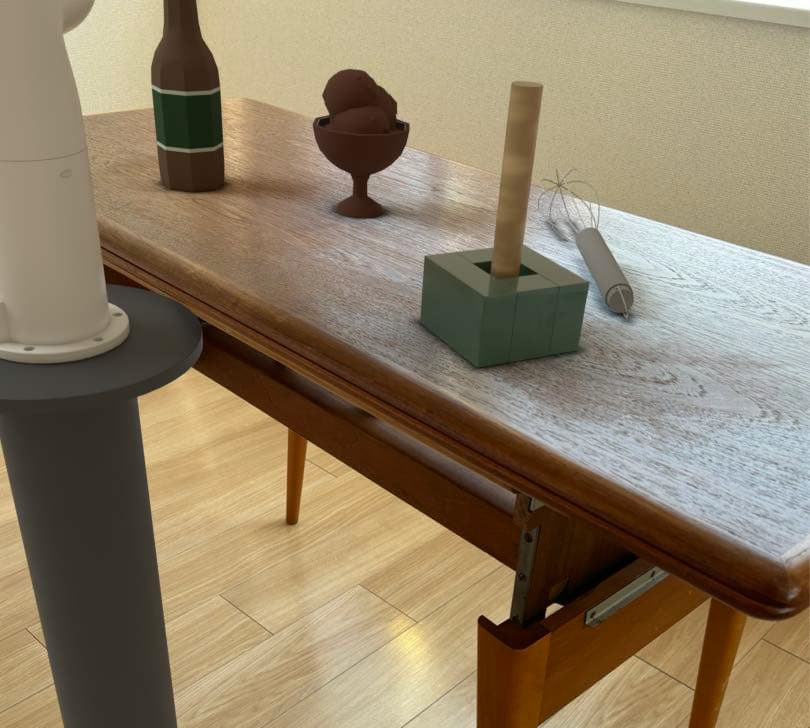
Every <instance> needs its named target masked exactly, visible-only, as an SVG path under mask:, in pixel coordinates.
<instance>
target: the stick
mask: <svg viewBox="0 0 810 728" xmlns="http://www.w3.org/2000/svg"><path fill="white" fill-rule="evenodd" d="M543 93H544V85H543V84H542V83H540V82H536V81H531V80H515V81H512V82H511V83H510V91H509V101H508V109H507V119H506V127H505V129H506V130H505V136H504V137H505V138H504V145H503V156H502V165H501V174H500V182H499V191H498V192H499V193H498V199H497V200H498V201H497V210H496V218H495V228H494V235H493V237H494V238H493V246H492V248H493V254H492V263H491V272H490V275H491V276H493V277H494V278H496V279H497V280H498V279H505V278H513V277H519V273H520V265H521V257H522V249H523V244H524V241H525V235H526V224H527V217H528V209H529V203H530V195H531V185H532V179H533V170H534V163H535V156H536V147H537V140H538V132H539V126H540V125H539V124H540V118H541V117H540V115H541V109H542V102H543V101H542V100H543Z"/></svg>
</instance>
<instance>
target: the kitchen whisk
mask: <svg viewBox="0 0 810 728" xmlns="http://www.w3.org/2000/svg"><path fill="white" fill-rule="evenodd" d="M576 170H577V171H579V172H580V174H581V176H582V177H583V180H584V181H583V180H571V181H566V179H565V178H566V177H567V176H568V175H569V174H570V173H572V171H576ZM555 172H556V178H557V182H555V181H553V180H550V179H547V178H546V179H545V178H542V179H541V180H540V186H541V188H542V190H543V192H542V194H541V195H540V196H539V198H538V199H537V208H538V210H539V212H540V214H541V215H542V217H543V218H544V219H545V220H546V221H547V222H548V223H549V224H550V225H551V226H552V229H553V230H554V231H555V233H556V234H557V235H558V236H560V237H561V238H562V239H564V240H566V241H567V242H570V243H571V244H574V245H575V246H576V247H577V250H578V252H579V254H580V255H581V257H582V260H583V261H584V263H585V266H586V267H587V270H588V271H589V273H590V276H591V277H592V279H593V281H594V283H595V286H596V287H597V289H598V291H599V293H600V296H601V297H602V299H603V301H604V302H605V305H606V307H608V308H609V309H610V310H611V311H612V312H614V313H619V314H621V313H622V315H623V316H624V317H625V318H626V319H628V318H629V311H628V310H630V309H631V308H632V306H633V305H634V302H635V296H634V290H633V288H632V286H631V285H630V282H629V281H628V279H627V277H626V276H625V274H624V272H623V270H622V268H621V266H620V265H619V263H618V262H617V260H616V258H615V257H614V254H613V253H612V251H611V250H610V248H609V246H608V244H607V243H606V240H605V238H604V237H603V235H602V234H601V232H600V231H599V225H600V216H601V214H600V213H601V212H600V211H601V206H600V198H599V195H598V192H597V190H596V189H595V187H594V186H593V185H591V184H590V183H589V182H587V179H586V176H585V175H584V173H583V171H582V170H580V169H579V168H577V167H576V168H571V169H570V170H569V171H568V172H567V173H566V174H565V175H563V173H562V171H561V169H560V168H559V167H556V169H555ZM558 173H559V174H560V175H561V178H562V179H561V181H560V179H559V174H558ZM543 181H547V182H550V183H553V184H555V186H553V187H549V188H548V189H547V190H545V188H544V185H543ZM571 183H582V184H585V187H586V191H587V195H588V203H589V206H588V204H587V203H586V202H585V201H584V200H583V199H582V198H581V197H580V196H579V195H577V194H576V193H575V192H573V191H572V190H570V188H569V185H568V184H571ZM564 185H565V186H566V187H565V186H564ZM589 187H591V188H592V189H593V191H594V193H595V195H596V198H597V206H598V209H597V211H598V213H597V214H598V215H597V222H596V219H595V216H594V214H593V212H592V202H591V196H590V191H589ZM555 188H556V190H555V192H554V193H553V196H552V199H551V197H550V196H549V194H548V193H547V192H549V191H551V190H553V189H555ZM562 188H563V189H564V190H566V191H568V192H569V195H570V197H571V200H572V202H573V204H574V206H575V209H576V211H577V215H578V217H579V218H580V221H581V224H582V226H583V229H581V230H580V231H579V230H578V229H577V228H576V227H575V225H574V223H573V221H572V219H571V217H570V213H569V211H568V208H567V206H566V203H565V202H566V201H565V199H564V196H563V192H562ZM558 190H559V192H560V195H561V199H562V203H563V206H564V209H565V212H566V214H567V217H568V218H567V217H566V216H565V214H564V213H563V212H562V211H561V210H560V209H559V207H558V206H557V205H556V204H555V202H554V198H555V197H556V195H557V193H558ZM544 195H546V196H547V198H548V199H549V201H550V205H549V214H548V215H549V219H548V217H547V216H546V215H545V214H544V213H543V212H542V210H541V208H540V200H541V199H542V196H544ZM573 196H575V197H576V198H577V199H579V200H580V202H581V203H583V204H584V206H585V207H586V208H587V209H588V211H589V212H590V227H586V226H585V223H584V220H583V219H582V216H581V213H580V211H579V208H578V206H577V204H576V201H575V199H574V197H573ZM552 206H554V207H555V208H556V210H557V211H558V212H559V213H560V215H561V216H562V217H563V218H564V219H565V220H566V222H568V224H569V225H570V226H571V227H572V228H573V229H574V231H575V233H576V234H577V235H576V237H574V236H573V235H571V234H569V233H568V232H566V231H565V230H563V229H561V228H560V227H558V226H557V225H556V224H554V223H553V222H552V217H551V215H552V214H551V213H552V212H551V211H552ZM593 221H594V222H593ZM593 223H594V227H593ZM559 231H560V232H562V233H563V234H565V235H567V237H570V238H571V239H574V240H575V241H573V240H571V239H568V238H566V237H565V236H564V235H563V234H561V233H560V232H559ZM625 312H626V313H625Z"/></svg>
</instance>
